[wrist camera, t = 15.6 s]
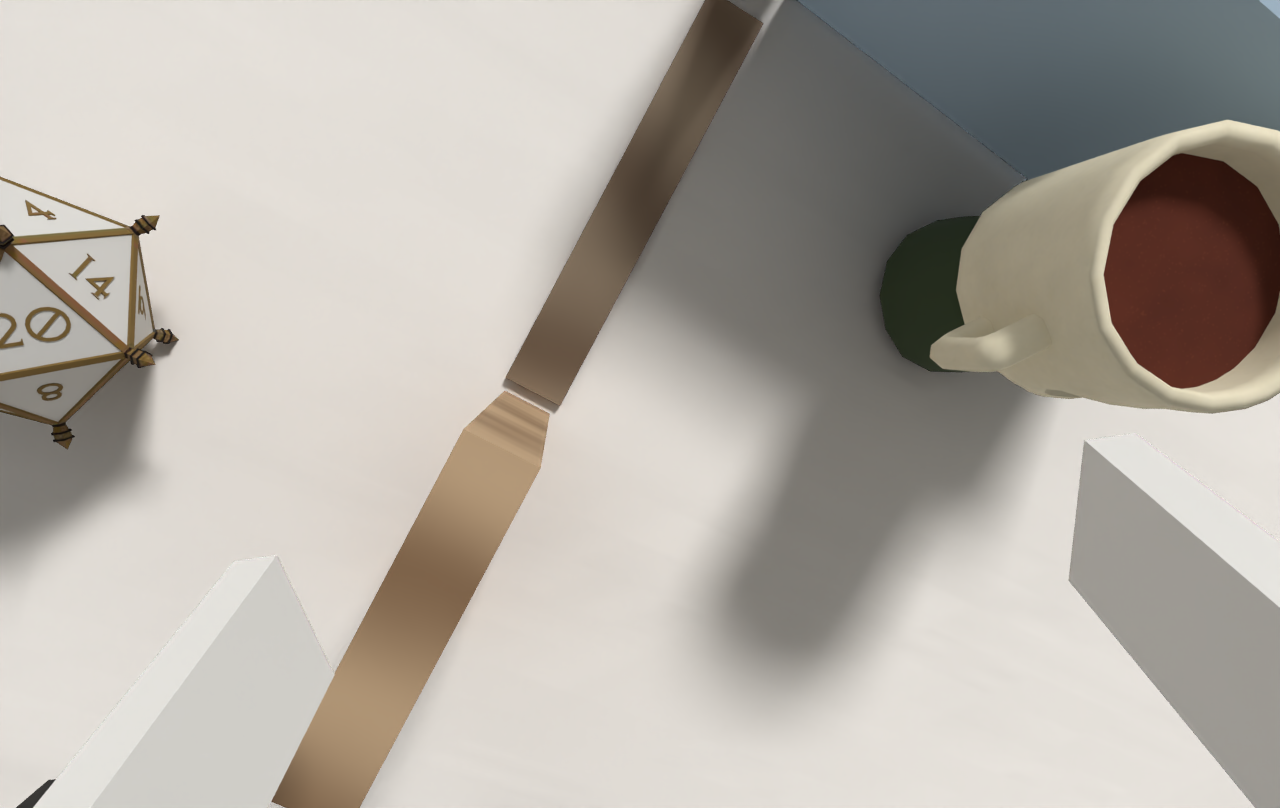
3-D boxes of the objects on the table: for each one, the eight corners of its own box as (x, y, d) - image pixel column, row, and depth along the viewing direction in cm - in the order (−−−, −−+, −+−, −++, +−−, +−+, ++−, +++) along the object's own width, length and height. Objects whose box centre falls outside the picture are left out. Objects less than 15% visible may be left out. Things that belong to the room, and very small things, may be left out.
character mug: (861, 429, 30) (1080, 499, 17) (794, 274, 29) (974, 227, 16) (1083, 319, 31) (1454, 308, 18) (1024, 164, 30) (1372, 35, 17)
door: (787, -8, 28) (955, -264, 16) (821, -60, 28) (1015, -358, 16) (1118, 249, 30) (1479, 193, 18) (1150, 201, 30) (1532, 113, 18)
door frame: (439, 632, 29) (327, 900, 15) (384, 607, 29) (219, 857, 15) (830, -104, 28) (1092, -533, 14) (778, -139, 28) (994, -613, 14)
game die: (175, 269, 30) (198, 131, 23) (171, 466, 28) (194, 387, 20) (-129, 232, 25) (-236, 36, 17) (-163, 471, 23) (-303, 368, 15)
